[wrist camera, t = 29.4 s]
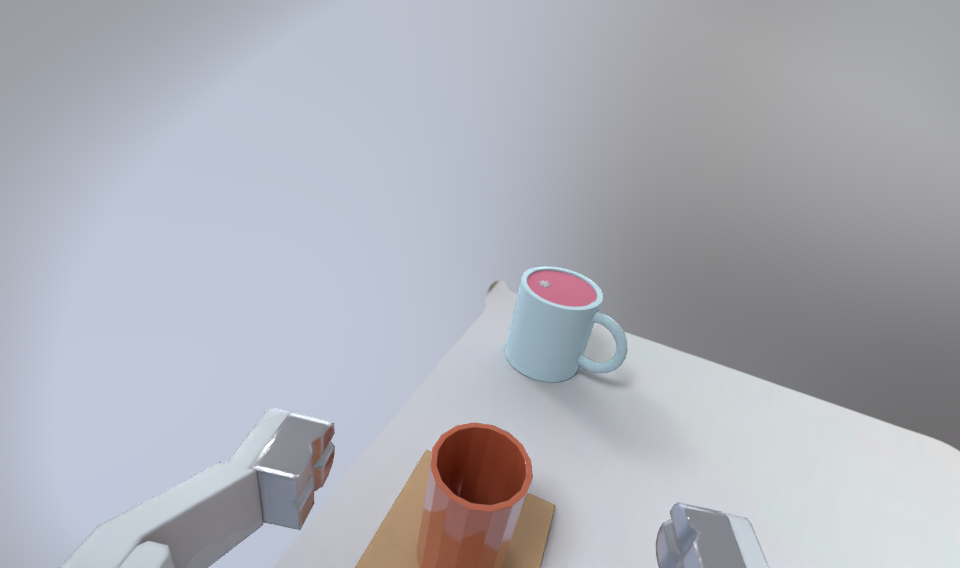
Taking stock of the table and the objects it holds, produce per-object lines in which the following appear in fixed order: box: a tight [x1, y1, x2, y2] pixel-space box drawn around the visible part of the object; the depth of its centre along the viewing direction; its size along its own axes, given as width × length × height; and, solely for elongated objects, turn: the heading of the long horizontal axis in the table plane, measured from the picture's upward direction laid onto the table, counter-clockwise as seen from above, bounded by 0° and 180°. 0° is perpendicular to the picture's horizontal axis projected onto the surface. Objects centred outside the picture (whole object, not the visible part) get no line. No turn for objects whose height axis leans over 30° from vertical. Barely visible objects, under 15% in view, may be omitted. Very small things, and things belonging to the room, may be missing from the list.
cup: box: [417, 423, 533, 568], centre depth 31 cm, size 6×6×10 cm
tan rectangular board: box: [355, 450, 555, 568], centre depth 33 cm, size 14×12×1 cm
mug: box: [505, 266, 627, 382], centre depth 52 cm, size 14×9×10 cm
